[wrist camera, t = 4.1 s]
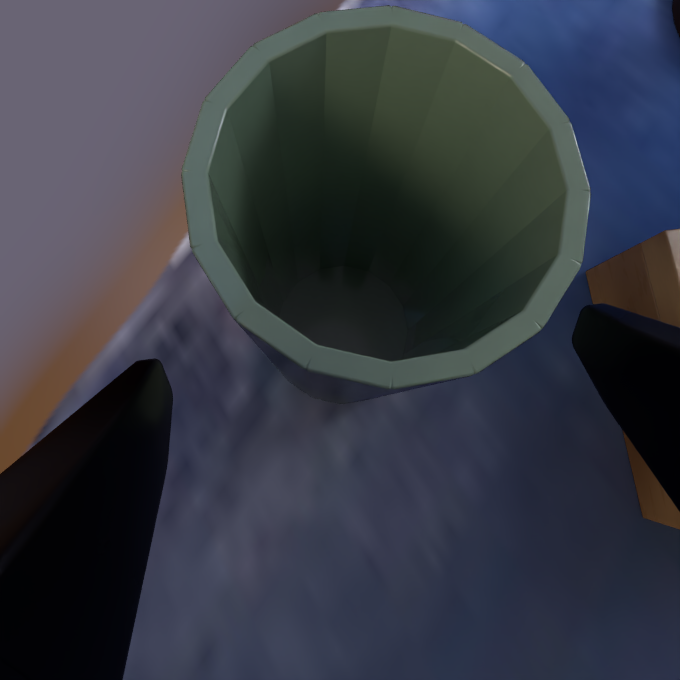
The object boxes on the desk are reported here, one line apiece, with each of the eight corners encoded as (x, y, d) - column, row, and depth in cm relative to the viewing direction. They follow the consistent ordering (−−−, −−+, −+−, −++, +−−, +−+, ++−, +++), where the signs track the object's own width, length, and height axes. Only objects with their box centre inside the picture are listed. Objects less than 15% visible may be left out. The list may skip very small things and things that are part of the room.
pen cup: (396, 417, 18) (563, 429, 6) (255, 385, 18) (129, 330, 6) (422, 281, 19) (609, 56, 7) (289, 251, 19) (243, -32, 7)
